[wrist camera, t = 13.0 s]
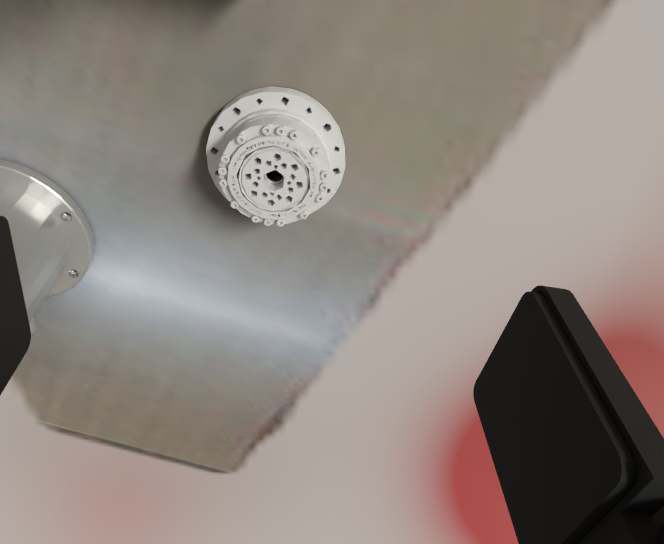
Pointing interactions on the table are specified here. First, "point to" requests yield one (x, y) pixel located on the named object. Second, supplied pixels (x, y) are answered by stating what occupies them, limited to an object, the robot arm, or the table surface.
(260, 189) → the mechanical component
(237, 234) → the table surface
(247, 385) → the table surface
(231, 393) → the table surface
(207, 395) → the table surface
